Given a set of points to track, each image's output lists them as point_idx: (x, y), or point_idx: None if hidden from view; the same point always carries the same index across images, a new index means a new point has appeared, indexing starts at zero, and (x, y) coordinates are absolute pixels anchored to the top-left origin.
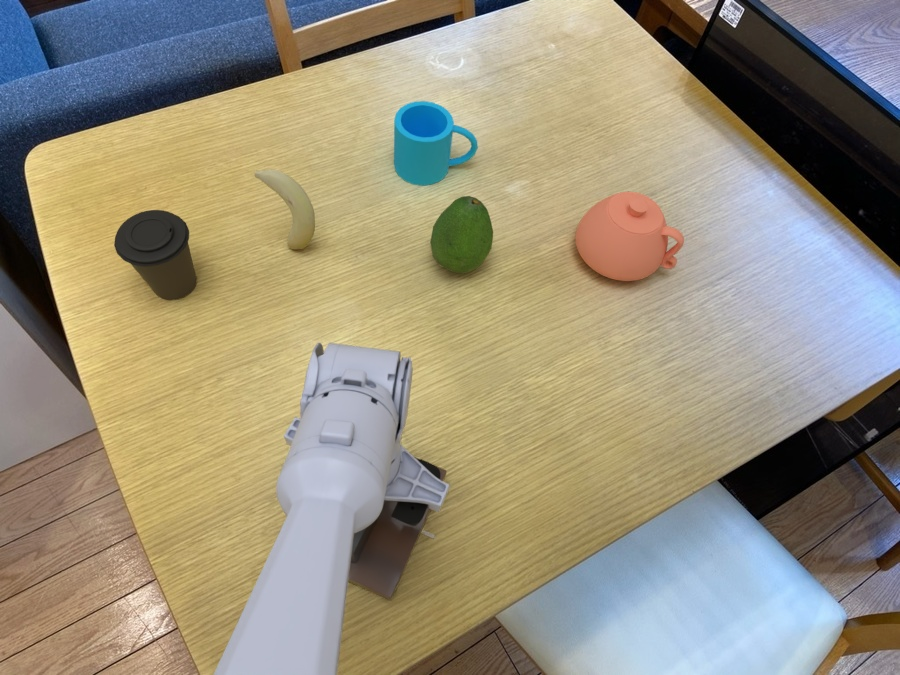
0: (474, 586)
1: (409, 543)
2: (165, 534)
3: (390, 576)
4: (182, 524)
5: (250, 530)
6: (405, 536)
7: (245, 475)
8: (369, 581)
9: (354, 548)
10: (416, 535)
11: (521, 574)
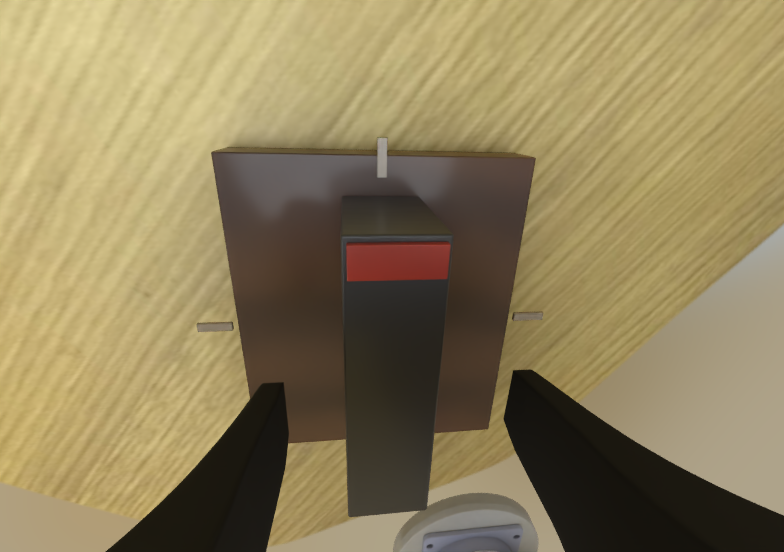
0: (609, 329)
1: (493, 344)
2: (52, 475)
3: (476, 404)
4: (62, 454)
5: (183, 414)
6: (481, 336)
7: (83, 341)
8: (442, 424)
9: (424, 503)
10: (503, 326)
11: (693, 279)
